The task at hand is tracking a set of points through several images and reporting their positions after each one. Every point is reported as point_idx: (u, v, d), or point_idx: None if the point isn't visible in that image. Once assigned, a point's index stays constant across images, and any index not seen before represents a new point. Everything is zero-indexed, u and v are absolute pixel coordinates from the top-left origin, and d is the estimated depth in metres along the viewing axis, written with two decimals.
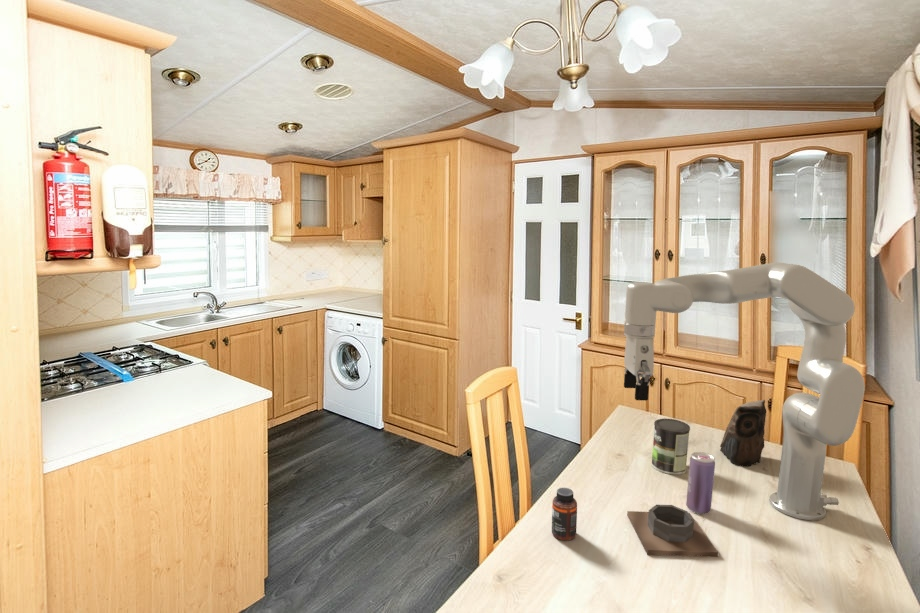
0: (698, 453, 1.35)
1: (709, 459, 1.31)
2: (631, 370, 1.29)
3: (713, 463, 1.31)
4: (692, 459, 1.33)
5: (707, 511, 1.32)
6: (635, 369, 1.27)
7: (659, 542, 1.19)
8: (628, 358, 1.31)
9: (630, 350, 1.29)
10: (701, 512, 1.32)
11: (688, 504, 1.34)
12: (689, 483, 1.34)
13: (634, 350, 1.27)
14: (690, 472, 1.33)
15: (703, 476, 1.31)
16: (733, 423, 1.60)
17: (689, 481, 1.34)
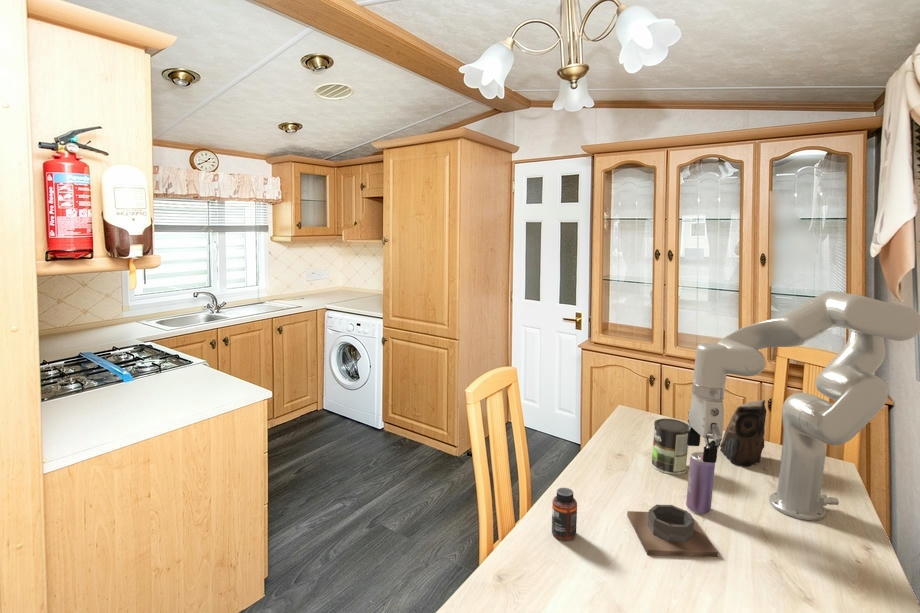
0: (698, 453, 1.35)
1: None
2: (699, 431, 1.29)
3: (713, 463, 1.31)
4: (692, 459, 1.33)
5: (707, 511, 1.32)
6: (704, 431, 1.27)
7: (659, 542, 1.19)
8: (695, 418, 1.31)
9: (698, 411, 1.29)
10: (701, 512, 1.32)
11: (688, 504, 1.34)
12: (689, 483, 1.34)
13: (704, 412, 1.27)
14: (690, 472, 1.33)
15: (703, 476, 1.30)
16: (733, 423, 1.60)
17: (689, 481, 1.34)
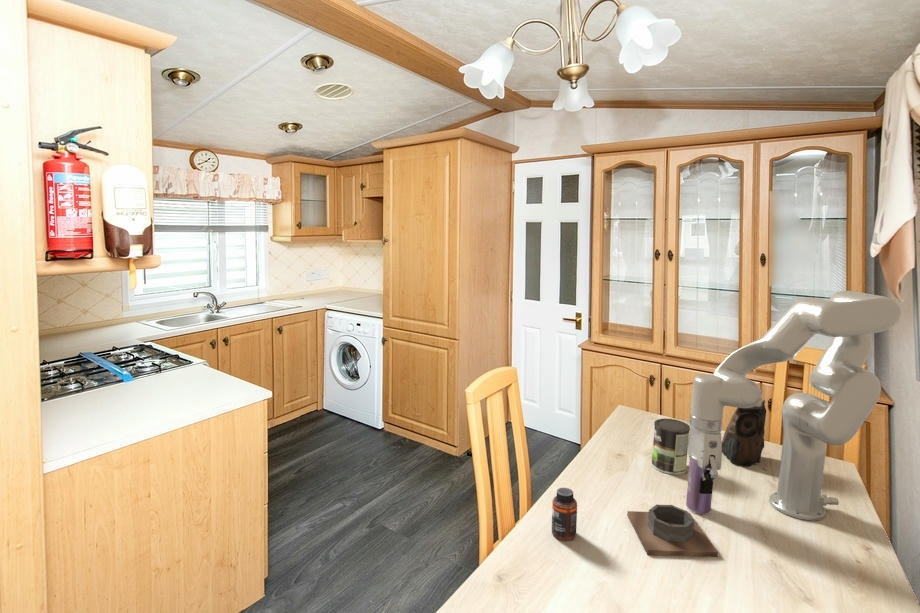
0: None
1: None
2: (698, 462, 1.31)
3: None
4: (692, 459, 1.33)
5: (707, 511, 1.32)
6: (703, 463, 1.28)
7: (659, 542, 1.19)
8: (694, 449, 1.32)
9: (697, 443, 1.31)
10: (701, 512, 1.32)
11: (688, 504, 1.34)
12: (689, 483, 1.34)
13: (702, 444, 1.28)
14: (690, 472, 1.33)
15: None
16: (733, 423, 1.60)
17: (689, 481, 1.34)
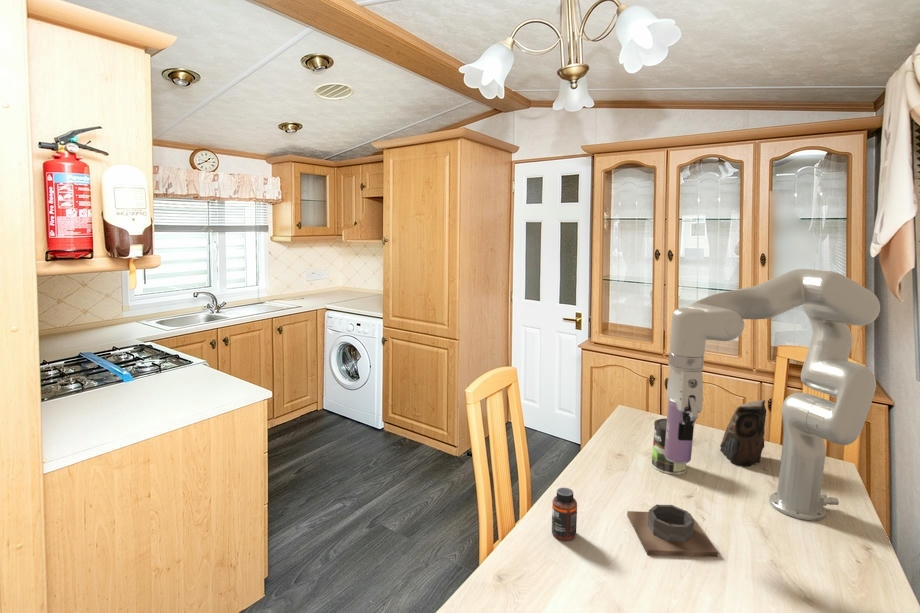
0: None
1: None
2: (676, 405, 1.17)
3: None
4: (670, 402, 1.19)
5: (687, 460, 1.19)
6: (682, 405, 1.15)
7: (659, 542, 1.19)
8: (673, 392, 1.19)
9: (675, 383, 1.17)
10: (680, 461, 1.19)
11: (666, 453, 1.21)
12: (667, 429, 1.20)
13: (681, 383, 1.15)
14: (668, 417, 1.20)
15: None
16: (733, 423, 1.60)
17: (667, 427, 1.20)
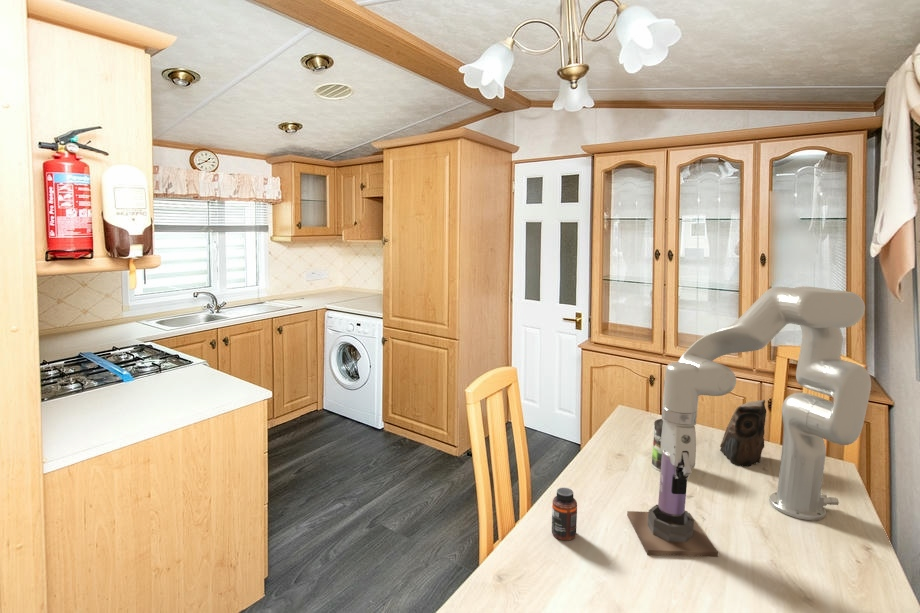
0: None
1: None
2: (670, 459, 1.18)
3: None
4: (664, 455, 1.20)
5: (680, 513, 1.20)
6: (675, 460, 1.16)
7: (659, 542, 1.19)
8: (666, 445, 1.20)
9: (669, 437, 1.18)
10: (674, 514, 1.20)
11: (660, 505, 1.22)
12: (661, 482, 1.21)
13: (674, 439, 1.16)
14: (662, 470, 1.21)
15: None
16: (733, 423, 1.60)
17: (661, 480, 1.21)
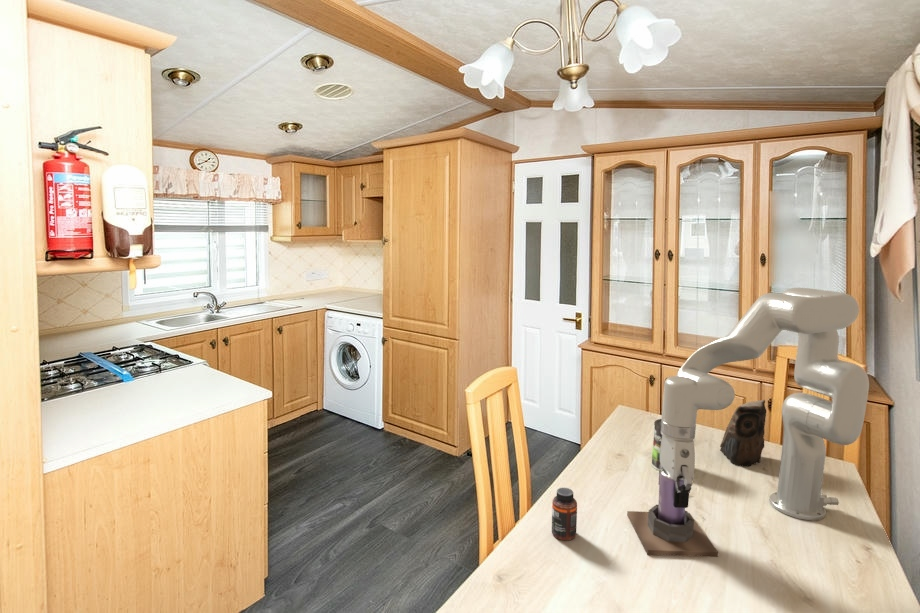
0: None
1: None
2: (669, 473, 1.19)
3: None
4: (661, 476, 1.21)
5: None
6: (674, 474, 1.16)
7: (659, 542, 1.19)
8: (665, 458, 1.20)
9: (668, 451, 1.19)
10: None
11: None
12: (659, 502, 1.22)
13: (673, 453, 1.16)
14: (660, 490, 1.22)
15: None
16: (733, 423, 1.60)
17: (659, 500, 1.22)
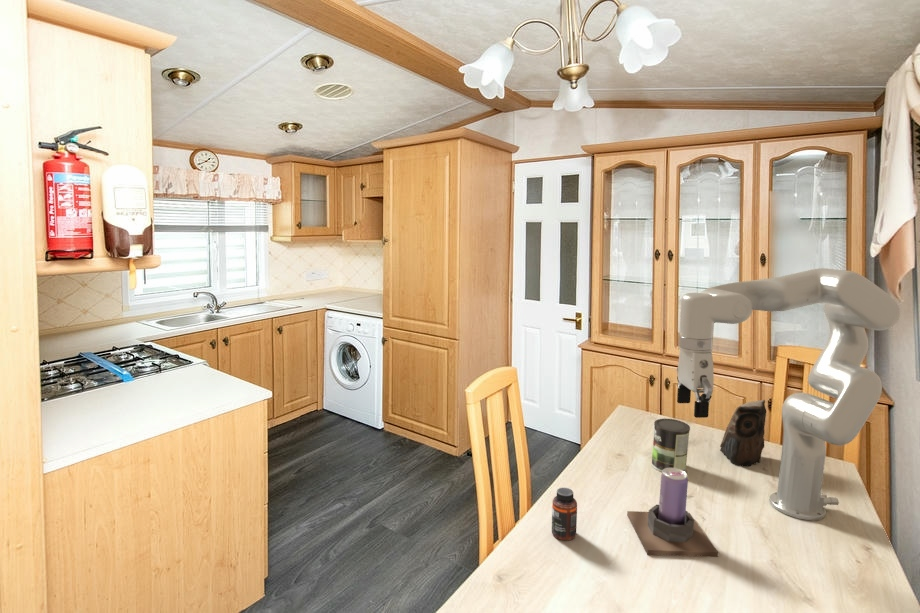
0: (670, 469, 1.23)
1: (681, 476, 1.20)
2: (689, 385, 1.23)
3: (685, 480, 1.19)
4: (663, 476, 1.21)
5: None
6: (694, 385, 1.20)
7: (659, 542, 1.19)
8: (684, 373, 1.25)
9: (687, 365, 1.23)
10: None
11: None
12: (660, 502, 1.22)
13: (693, 365, 1.20)
14: (661, 490, 1.22)
15: (675, 494, 1.19)
16: (733, 423, 1.60)
17: (660, 500, 1.22)
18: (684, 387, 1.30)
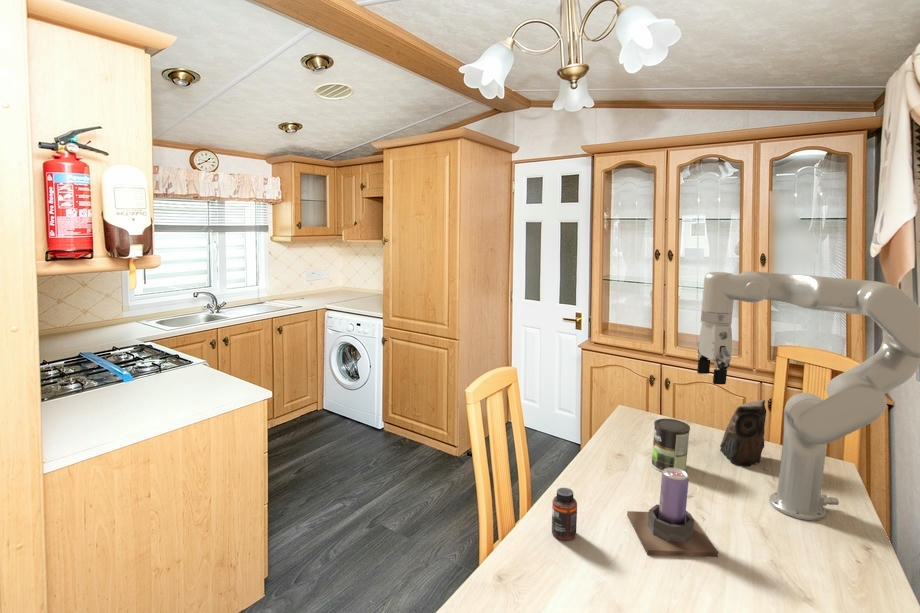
0: (671, 469, 1.23)
1: (682, 476, 1.20)
2: (709, 355, 1.36)
3: (686, 480, 1.19)
4: (663, 476, 1.21)
5: None
6: (714, 354, 1.34)
7: (659, 542, 1.19)
8: (705, 344, 1.38)
9: (708, 337, 1.36)
10: None
11: None
12: (660, 502, 1.22)
13: (713, 336, 1.34)
14: (661, 490, 1.22)
15: (675, 494, 1.19)
16: (733, 423, 1.60)
17: (660, 499, 1.22)
18: (704, 359, 1.43)
